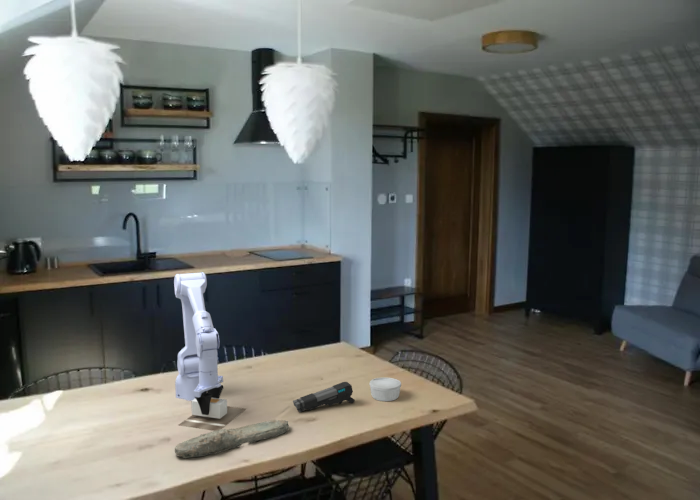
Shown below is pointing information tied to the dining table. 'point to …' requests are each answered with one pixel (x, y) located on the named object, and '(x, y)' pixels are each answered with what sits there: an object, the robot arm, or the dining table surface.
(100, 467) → the dining table surface
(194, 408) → the block
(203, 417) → the subfloor panel
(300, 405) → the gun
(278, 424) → the long grey stone
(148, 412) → the dining table surface
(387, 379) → the ramekin
